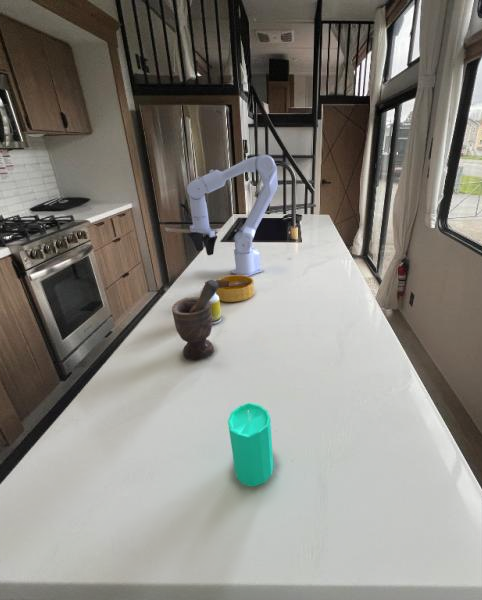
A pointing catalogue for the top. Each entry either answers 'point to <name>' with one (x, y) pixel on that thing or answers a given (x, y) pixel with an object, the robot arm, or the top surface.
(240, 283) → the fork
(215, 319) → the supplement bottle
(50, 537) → the top surface
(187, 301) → the mortar and pestle
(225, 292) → the bowl
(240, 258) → the robot arm
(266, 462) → the candle
